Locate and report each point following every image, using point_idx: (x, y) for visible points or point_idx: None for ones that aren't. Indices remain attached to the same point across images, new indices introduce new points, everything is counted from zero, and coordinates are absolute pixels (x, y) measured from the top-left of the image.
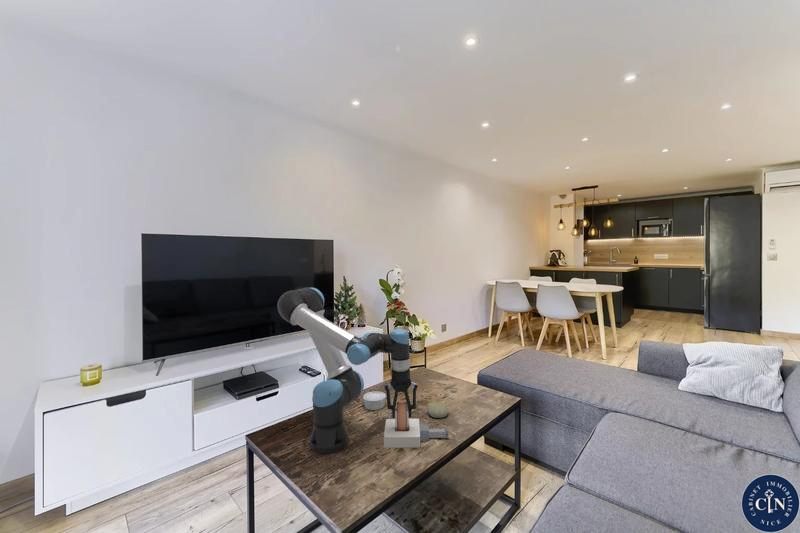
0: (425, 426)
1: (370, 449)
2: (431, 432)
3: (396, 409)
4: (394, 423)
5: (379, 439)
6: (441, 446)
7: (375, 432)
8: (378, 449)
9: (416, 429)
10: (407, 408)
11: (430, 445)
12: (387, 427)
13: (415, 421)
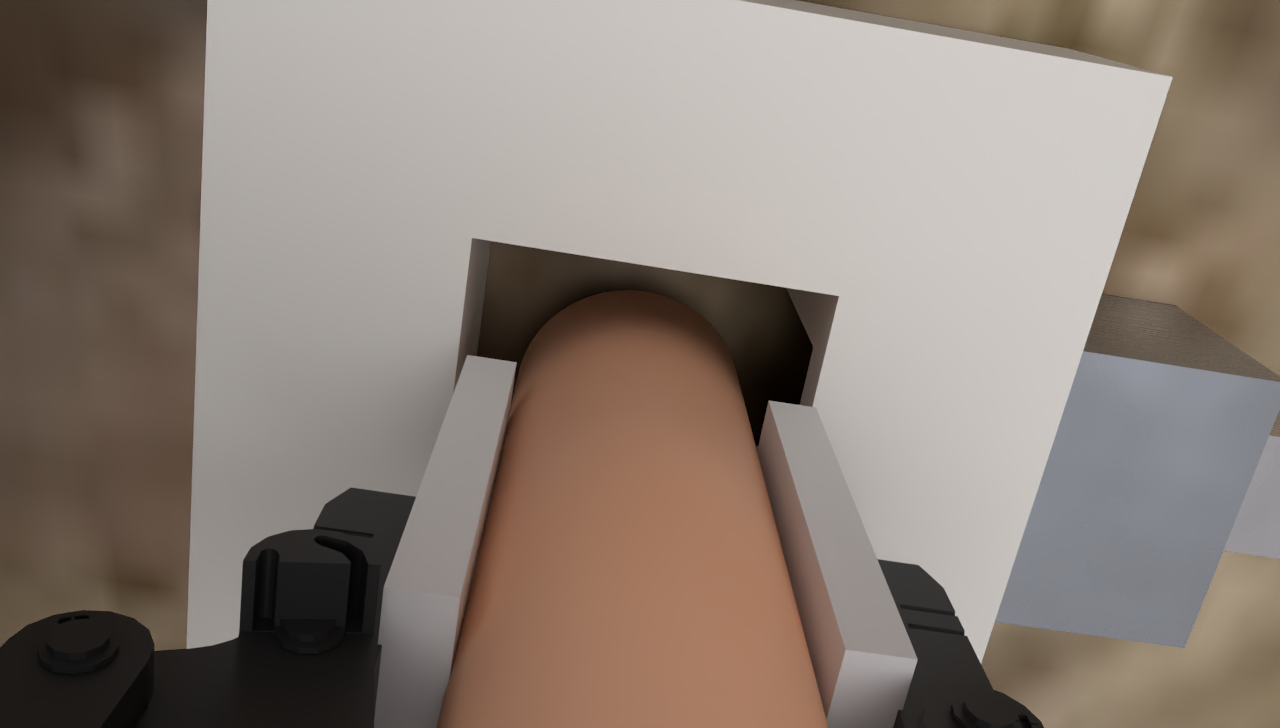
0: (1185, 476)
1: (12, 600)
2: (1229, 549)
3: (429, 689)
4: (450, 217)
5: (153, 328)
6: (1234, 705)
7: (37, 37)
8: (157, 621)
9: (938, 571)
10: (869, 687)
11: (1069, 654)
12: (260, 376)
13: (1026, 217)
